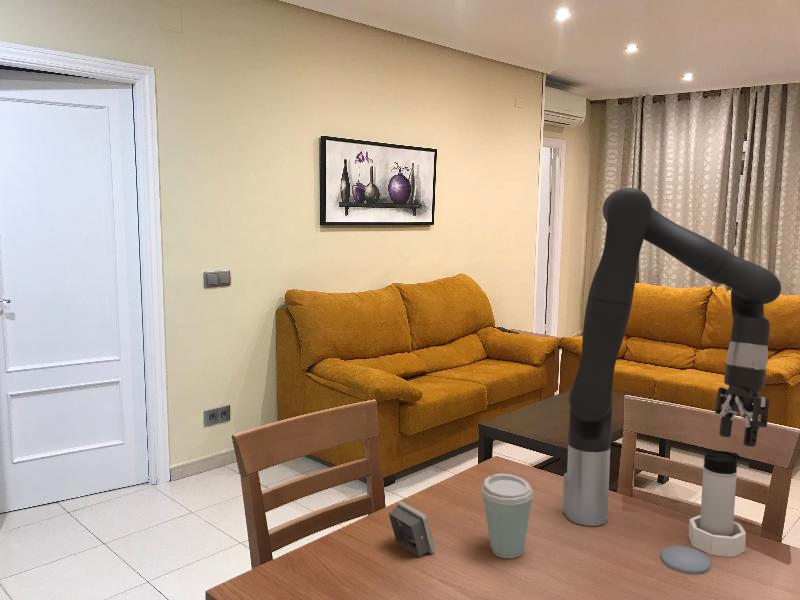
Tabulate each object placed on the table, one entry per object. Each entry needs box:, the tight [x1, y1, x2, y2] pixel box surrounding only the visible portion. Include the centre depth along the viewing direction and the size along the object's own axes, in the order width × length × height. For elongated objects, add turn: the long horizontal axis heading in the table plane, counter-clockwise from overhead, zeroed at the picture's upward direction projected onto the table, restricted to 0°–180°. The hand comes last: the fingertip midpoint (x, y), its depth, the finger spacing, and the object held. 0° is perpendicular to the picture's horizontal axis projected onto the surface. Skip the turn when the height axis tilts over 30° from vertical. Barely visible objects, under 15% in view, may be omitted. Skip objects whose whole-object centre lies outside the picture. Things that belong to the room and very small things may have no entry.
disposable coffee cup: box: [480, 473, 534, 559], centre depth 132 cm, size 11×11×15 cm
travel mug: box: [700, 450, 741, 537], centre depth 134 cm, size 6×7×20 cm
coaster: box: [660, 545, 711, 575], centre depth 128 cm, size 9×9×1 cm
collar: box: [688, 514, 747, 558], centre depth 135 cm, size 10×10×4 cm
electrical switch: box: [388, 500, 436, 558], centre depth 133 cm, size 9×5×9 cm, turn 38°
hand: (736, 441), depth 135 cm, fingers open, 8 cm apart
